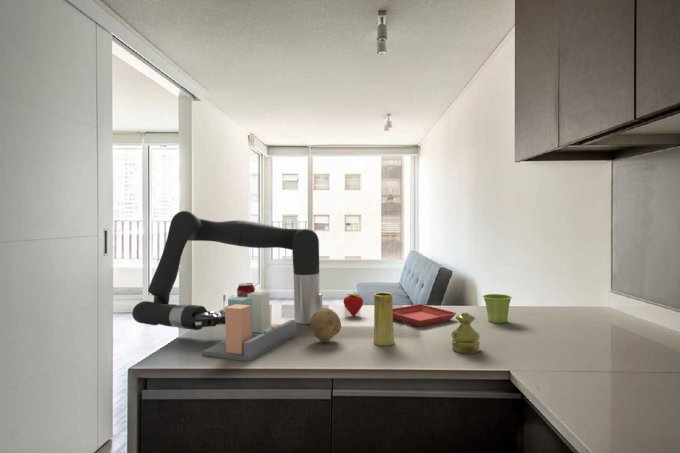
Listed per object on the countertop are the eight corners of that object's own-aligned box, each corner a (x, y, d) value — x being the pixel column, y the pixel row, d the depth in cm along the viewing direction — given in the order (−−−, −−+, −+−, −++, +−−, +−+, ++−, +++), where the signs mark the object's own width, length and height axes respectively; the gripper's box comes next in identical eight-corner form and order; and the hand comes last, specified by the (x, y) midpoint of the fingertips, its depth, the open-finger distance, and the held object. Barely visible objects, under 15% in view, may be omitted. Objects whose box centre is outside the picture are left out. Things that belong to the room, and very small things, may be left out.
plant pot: (482, 323, 137) (482, 298, 137) (483, 317, 146) (483, 293, 145) (512, 325, 133) (512, 299, 133) (511, 319, 142) (511, 294, 142)
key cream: (248, 331, 127) (247, 293, 127) (256, 328, 132) (255, 291, 131) (261, 333, 125) (261, 294, 125) (269, 329, 130) (268, 292, 129)
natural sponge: (327, 335, 126) (326, 303, 126) (347, 341, 120) (347, 307, 120) (304, 342, 120) (304, 308, 120) (325, 348, 113) (324, 313, 113)
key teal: (228, 340, 119) (227, 299, 119) (238, 336, 123) (237, 296, 123) (243, 341, 117) (242, 300, 117) (252, 337, 121) (251, 297, 121)
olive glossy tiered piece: (476, 355, 105) (476, 317, 105) (448, 351, 109) (447, 314, 109) (483, 348, 111) (482, 311, 111) (456, 344, 115) (455, 309, 115)
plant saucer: (457, 321, 142) (457, 312, 142) (420, 329, 132) (419, 319, 132) (420, 312, 157) (420, 303, 157) (384, 319, 147) (384, 310, 147)
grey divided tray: (202, 355, 110) (202, 335, 109) (255, 331, 133) (254, 314, 133) (248, 361, 104) (248, 340, 104) (295, 335, 127) (295, 317, 127)
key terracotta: (225, 352, 107) (224, 307, 107) (236, 347, 112) (235, 304, 111) (241, 354, 105) (240, 308, 105) (251, 349, 110) (250, 305, 109)
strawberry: (344, 313, 155) (344, 287, 155) (364, 314, 154) (363, 288, 154) (342, 317, 149) (341, 290, 149) (362, 317, 148) (362, 290, 148)
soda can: (251, 316, 153) (250, 285, 153) (234, 316, 154) (233, 285, 154) (258, 312, 160) (257, 282, 160) (242, 312, 161) (241, 282, 161)
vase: (396, 340, 119) (395, 292, 119) (392, 346, 114) (391, 296, 113) (376, 339, 121) (375, 291, 121) (371, 345, 116) (370, 295, 115)
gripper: (172, 309, 121) (218, 313, 115) (202, 300, 133) (246, 303, 127) (172, 334, 121) (219, 339, 115) (203, 323, 133) (247, 327, 127)
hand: (233, 320), depth 121 cm, fingers closed
